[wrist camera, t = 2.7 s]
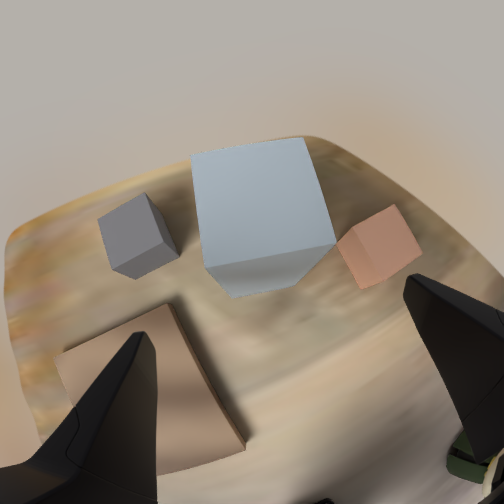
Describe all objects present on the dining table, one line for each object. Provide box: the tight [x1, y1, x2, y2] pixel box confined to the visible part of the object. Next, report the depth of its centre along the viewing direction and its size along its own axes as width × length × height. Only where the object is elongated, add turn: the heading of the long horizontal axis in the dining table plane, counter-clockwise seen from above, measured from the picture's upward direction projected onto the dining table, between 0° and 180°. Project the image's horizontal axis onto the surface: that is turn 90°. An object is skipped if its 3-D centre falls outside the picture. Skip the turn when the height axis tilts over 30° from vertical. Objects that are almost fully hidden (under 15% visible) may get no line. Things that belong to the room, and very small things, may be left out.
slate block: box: [190, 137, 337, 298], centre depth 15 cm, size 4×4×11 cm
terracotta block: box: [336, 204, 423, 289], centre depth 18 cm, size 4×4×4 cm
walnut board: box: [53, 303, 246, 476], centre depth 17 cm, size 12×12×1 cm
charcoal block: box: [98, 193, 179, 280], centre depth 19 cm, size 4×4×4 cm
